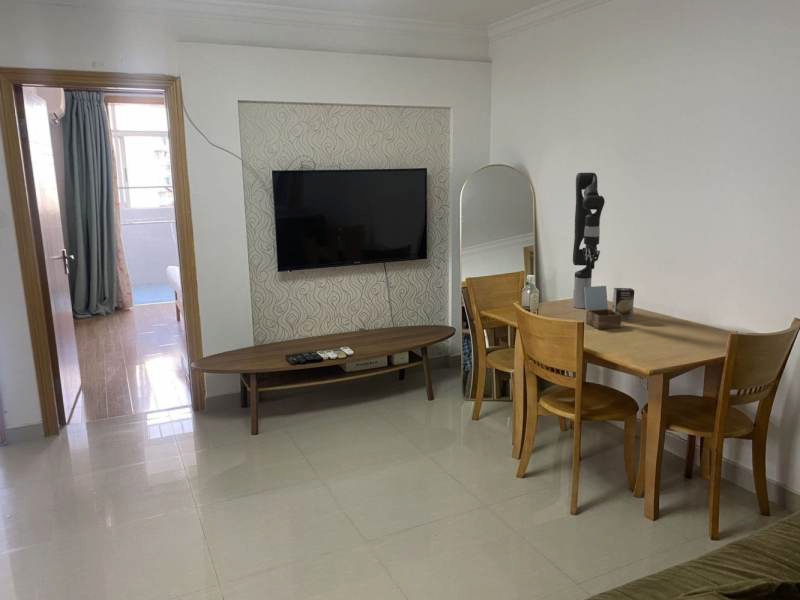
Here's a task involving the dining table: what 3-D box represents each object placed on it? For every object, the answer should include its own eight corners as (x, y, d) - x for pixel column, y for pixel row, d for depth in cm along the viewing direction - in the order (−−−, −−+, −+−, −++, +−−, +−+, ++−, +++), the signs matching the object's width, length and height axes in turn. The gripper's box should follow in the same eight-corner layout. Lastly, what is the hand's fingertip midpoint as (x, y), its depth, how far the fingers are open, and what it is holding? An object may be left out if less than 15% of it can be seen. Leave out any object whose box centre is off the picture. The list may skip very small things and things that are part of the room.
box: (586, 323, 305) (586, 311, 304) (607, 322, 308) (607, 309, 306) (598, 329, 294) (599, 316, 292) (620, 328, 296) (621, 314, 295)
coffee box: (614, 320, 311) (616, 290, 308) (611, 317, 318) (613, 287, 314) (632, 320, 310) (634, 290, 307) (629, 317, 317) (631, 287, 313)
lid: (586, 310, 304) (585, 310, 305) (608, 309, 306) (606, 309, 308) (584, 287, 304) (583, 287, 305) (606, 285, 307) (604, 285, 308)
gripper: (578, 234, 312) (576, 266, 315) (592, 236, 298) (590, 270, 302) (591, 233, 313) (589, 265, 317) (605, 236, 300) (604, 270, 303)
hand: (590, 268), depth 309 cm, fingers open, 3 cm apart
